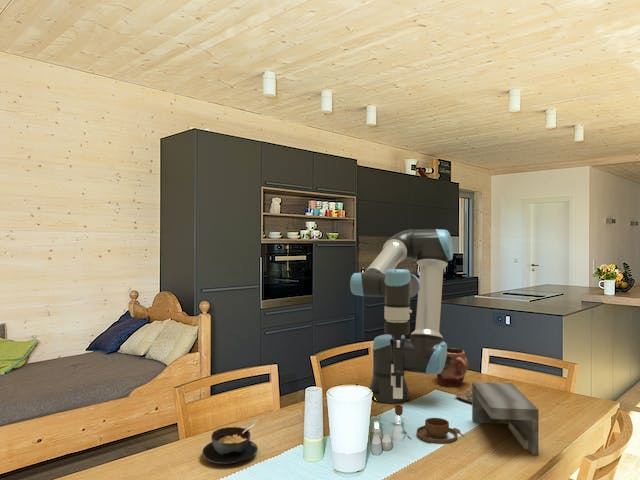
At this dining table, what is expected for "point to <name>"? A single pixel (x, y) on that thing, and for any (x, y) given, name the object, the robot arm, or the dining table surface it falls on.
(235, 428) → the soup bowl
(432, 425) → the place setting
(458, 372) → the decorative planter
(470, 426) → the dining table surface
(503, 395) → the shelf
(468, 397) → the shell
